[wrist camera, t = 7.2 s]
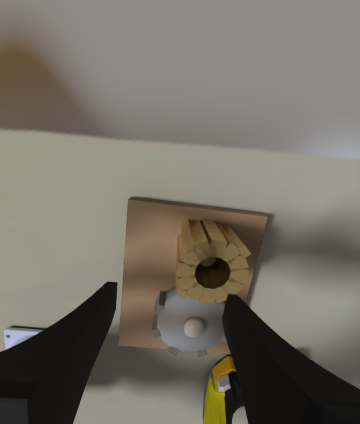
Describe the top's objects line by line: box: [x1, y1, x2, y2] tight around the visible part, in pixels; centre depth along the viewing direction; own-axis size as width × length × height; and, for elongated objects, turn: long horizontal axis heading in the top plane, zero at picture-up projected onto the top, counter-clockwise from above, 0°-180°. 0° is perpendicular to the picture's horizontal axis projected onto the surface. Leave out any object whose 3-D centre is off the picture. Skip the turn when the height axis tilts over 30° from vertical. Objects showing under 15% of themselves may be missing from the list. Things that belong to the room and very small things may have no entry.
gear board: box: [119, 197, 268, 357], centre depth 21 cm, size 18×14×4 cm
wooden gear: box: [176, 220, 251, 304], centre depth 17 cm, size 6×6×5 cm
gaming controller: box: [203, 356, 245, 424], centre depth 24 cm, size 15×6×10 cm
